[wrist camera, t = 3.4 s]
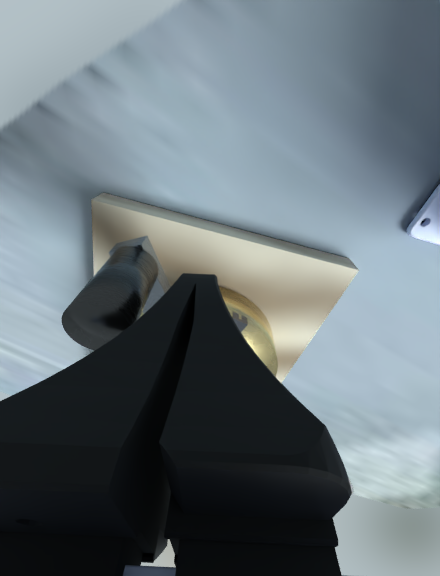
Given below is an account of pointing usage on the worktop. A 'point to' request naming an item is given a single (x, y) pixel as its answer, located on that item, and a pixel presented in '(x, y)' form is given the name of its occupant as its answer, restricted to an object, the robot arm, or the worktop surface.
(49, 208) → the worktop surface
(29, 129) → the worktop surface
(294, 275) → the beige flat board
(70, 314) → the crank handle
